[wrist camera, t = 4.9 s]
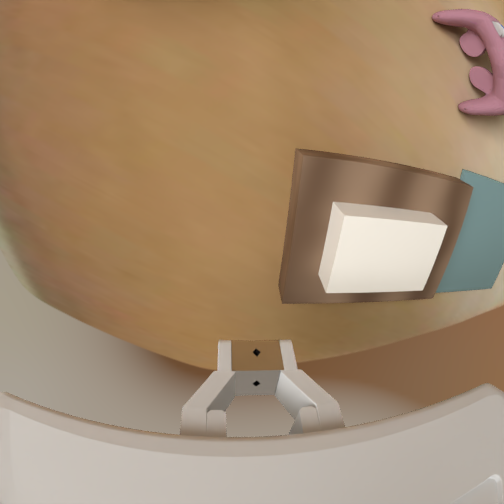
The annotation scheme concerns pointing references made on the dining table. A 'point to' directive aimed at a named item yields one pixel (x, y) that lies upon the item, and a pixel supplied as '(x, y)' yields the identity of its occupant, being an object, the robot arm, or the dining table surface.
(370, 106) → the dining table surface
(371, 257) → the tile
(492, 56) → the video game controller
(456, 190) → the brown flat wooden slab
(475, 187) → the mat
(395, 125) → the dining table surface
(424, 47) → the dining table surface
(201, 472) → the robot arm
